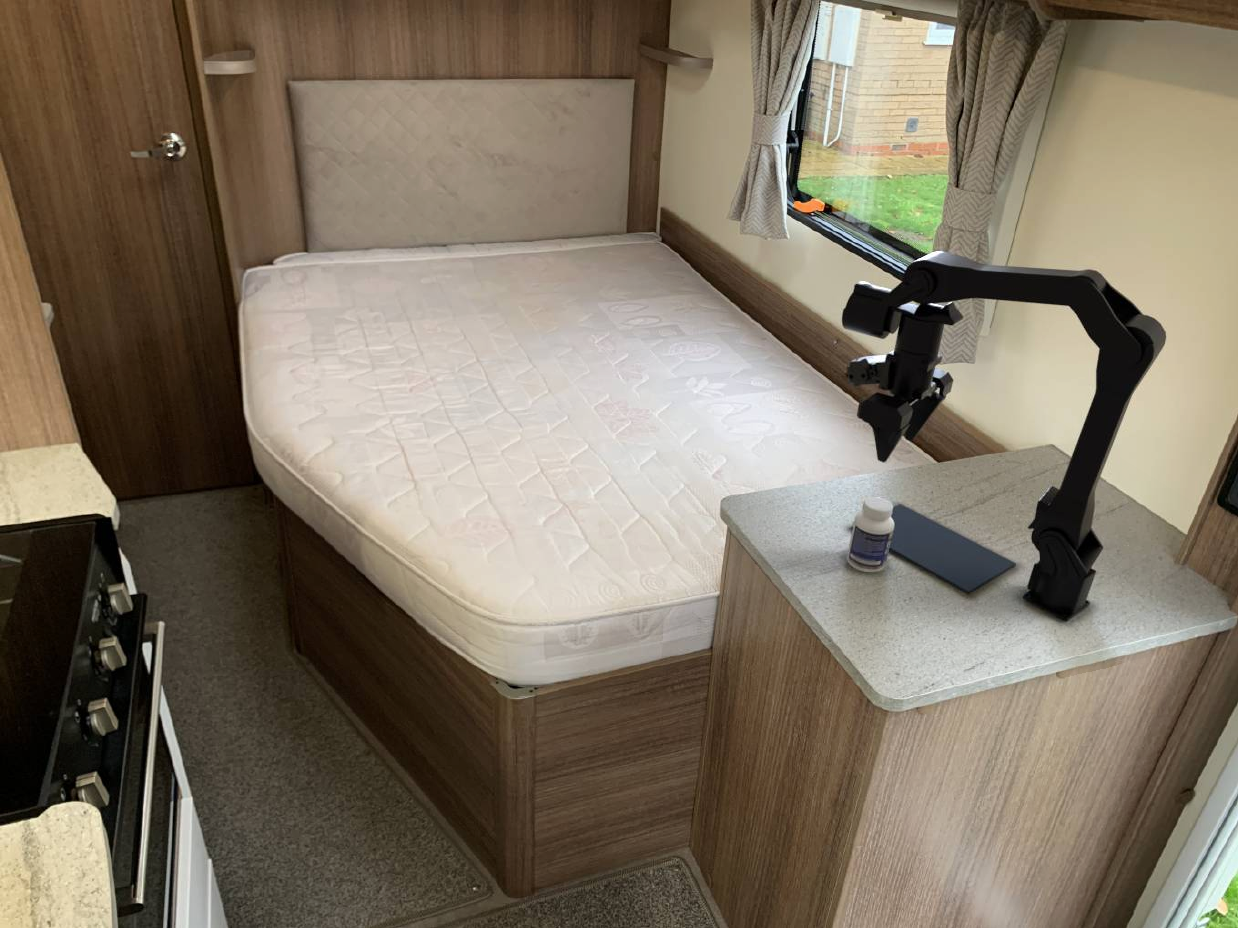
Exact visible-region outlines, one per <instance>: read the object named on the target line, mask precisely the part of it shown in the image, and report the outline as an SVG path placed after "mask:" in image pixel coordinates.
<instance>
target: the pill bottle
mask: <svg viewBox="0 0 1238 928" xmlns="http://www.w3.org/2000/svg"><path fill="white" fill-rule="evenodd" d="M893 507H894V505H893V503H892V502H891V501H890V500H888V499H886V498H883V497H879V496H868V497H866V498H865V499H864V500H863V502H862V507H861V510H860V511H858V512H857V513H856V514H855V517H854V521H853V524H852V526H853V530H852V529H851V535H850V539H849V545H848V550H847V554H846V559H847V563H848V564H849V565H850V566H851V567H852V568H853V569H855V570H857V571H860V572H864V573H879V572H880V571H882V570H884V569H885V567H886V564H887V560H888V556H889V552H890V551H889V548H890V543H891V539H892V535H893V530H894V521H893V519H892V518H891V515H892V511H893Z"/></svg>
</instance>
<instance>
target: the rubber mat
mask: <svg viewBox="0 0 1238 928" xmlns="http://www.w3.org/2000/svg"><path fill="white" fill-rule="evenodd" d="M891 518H892V519H893V521H894V530H893V535H892V539H891V543H890V548H889V552H891V553H892V554H894V555H896V556H898V557H900V558H902V559H904V560H906V561H907V562H909V563H910V564H913V565H914V566H916V567H918V568H920V569H921V570H923V571H925V572H926V573H929V574H930V575H932V576H934V577H935V578H937V579H939V580H941V581H943V582H945V583H947V584H948V585H950V586H951V587H954V588H955V589H957V590H959V591H961V592H963V593H964V594H966V595H970V594H972V593H973V592H975V591H977V590H978V589H980V588H982V587H983V586H985V585H987V584H988V583H990V582H992V581H993V580H995V579H997V578H998V577H1000V576H1001V575H1003V574H1005V573H1006V572H1008V571H1009V570H1011V569H1013V568H1014V567H1016V565H1017V563H1016V562H1014V561H1012V560H1010V559H1008V558H1006V557H1004V556H1003V555H1001V554H998V553H997V552H995V551H993V550H991V549H989V548H987V547H985V546H983V545H981V544H979V543H977V542H975V541H973V540H972V539H970V538H968V537H966V536H964V535H962V534H960V533H958V532H956V531H954V530H952V529H951V528H948V527H946V526H944V525H942V524H941V523H938V522H936V521H935V520H933V519H932V518H931V519H930V518H929V517H927V516H925V515H923V514H921V513H919V512H917V511H915V510H913V509H911V508H909V507H907V506H906V505H903V504H902V503H898V504H897V505H893V511H892V515H891ZM852 530H853V525H852V526H851V531H852Z"/></svg>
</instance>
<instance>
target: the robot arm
mask: <svg viewBox="0 0 1238 928" xmlns="http://www.w3.org/2000/svg"><path fill="white" fill-rule="evenodd" d="M970 299H980V300H981V299H982V300H993V301H994V300H995V301H1004V302H1005V301H1006V302H1015V303H1016V302H1017V303H1029V304H1038V305H1039V304H1040V305H1050V306H1051V305H1052V306H1061V307H1062V306H1063V307H1064V306H1065V307H1069V308H1070V310H1072V312H1073V313H1074V314H1075V315H1076V318H1078V320H1079V322H1080V324H1081V325H1082V327H1083V329H1084V331H1085V332H1086V334H1087V336H1088V337H1089V338H1090V339H1091V341H1092V342H1093V343H1094V344H1095V346H1096V347H1097V348H1098V349H1099V350H1098V354H1097V362H1096V368H1095V392H1094V395H1093V397H1092V401H1091V403H1090V406H1089V408H1088V411H1087V414H1086V417H1085V420H1084V422H1083V425H1082V427H1081V430H1080V433H1079V436H1078V438H1077V441H1076V443H1075V447H1074V449H1073V452H1072V455H1071V458H1070V459H1069V462H1068V465H1067V468H1066V470H1065V473H1064V475H1063V478H1062V481H1061V484H1060V487H1059V488H1058V487H1056V486H1054V485H1050V486H1049V487H1048V489H1046V491H1045V492H1044V494H1043V495H1042V496H1041V497H1040V499H1038V501H1037V504H1036V508H1035V514H1034V519H1033V520H1032V521H1031V522H1030V524H1029V525H1028V526H1027V529H1029V530H1032V531H1031V536H1030V540H1031V544H1033V546H1034V547H1035V549H1036V550H1037V552H1038V555H1039V561H1037V562H1035V563H1033V567H1032V570H1031V573H1030V576H1029V579H1028V582H1027V586H1026V588H1027V591H1025V592H1024V593H1023V594H1022V600H1025V601H1026V602H1028V603H1030V604H1032V605H1033V606H1036V607H1038V608H1040V609H1041V610H1043V611H1045V612H1046V613H1048V614H1050V615H1052V616H1054V617H1056V618H1057V619H1060V620H1062V621H1064V622H1068V621H1070V620H1072V619H1073V618H1074V617H1076V616H1077V615H1078V614H1080V613H1081V612H1083V611H1085V609H1087V608H1088V607H1090V605H1091V602H1090V600H1088V596H1089V593H1090V590H1091V588H1092V585H1093V582H1094V580H1095V576H1096V574H1097V570H1095V569H1093V568H1092V567H1093V565H1094V564H1095V562H1096V561H1097V559H1098V558H1099V555H1100V554H1101V553H1102V551H1103V550H1104V546H1103V543H1102V542H1101V541H1100V539H1099V538H1098V536H1097V534H1096V533H1095V531H1094V530H1093V528H1092V527H1093V520H1094V513H1095V508H1096V505H1095V504H1096V497H1095V496H1096V489H1097V486H1098V483H1099V482H1100V479H1101V476H1102V474H1103V471H1104V468H1105V465H1106V463H1107V461H1108V458H1109V455H1110V453H1111V450H1112V448H1113V445H1114V443H1115V441H1116V437H1117V435H1118V433H1119V430H1120V428H1121V425H1122V422H1123V419H1124V417H1125V415H1126V412H1127V410H1128V407H1129V404H1130V402H1131V401H1132V397H1133V395H1134V393H1135V391H1136V390H1137V389H1138V387H1139V386H1140V383H1141V382H1142V381H1143V379H1144V378H1145V377H1146V376H1147V373H1148V372H1149V370H1150V369H1151V367H1152V366H1153V364H1154V363H1155V361H1156V360H1157V359H1158V356H1159V355H1160V353H1161V351H1162V350H1163V349H1164V347H1165V345H1166V341H1167V332H1166V330H1165V329H1164V327H1163V325H1162V323H1160V322H1159V320H1158V319H1156V318H1154V317H1153V316H1150V315H1147V314H1144V313H1143V312H1142V311H1141V310H1140V309H1139V308H1138V306H1137V305H1136V304H1135V303H1133V301H1131V299H1129V298H1128V297H1126V296H1125V295H1124V294H1123V293H1121V292H1120V291H1119V290H1118V289H1116V288H1114V286H1113V285H1111V283H1110V282H1109V281H1108V280H1107V279H1106V278H1105V277H1104V275H1103V274H1102V273H1100V272H1099V271H1097V270H1094V269H1082V270H1073V269H1058V268H1043V267H1027V266H1026V267H1025V266H1013V265H1012V266H1011V265H999V264H998V265H997V264H996V265H995V264H986V263H982V262H978V261H976V260H974V259H971V258H969V257H967V256H963V255H959V254H955V253H952V252H951V253H950V252H946V251H933V252H931V253H929V254H927V255H925V256H923V257H921V258H918V259H917V260H914V261H913V262H911V263H910V264H909V265H908V266H907V267H906V269H905V270H904V273H903V274H902V281H901V282H900V283H899V284H897V285H896V286H895V287H894V288H892V289H889V288H886V287H881V286H878V285H874V284H872V283H870V282H867V281H862V280H861V281H859V282H857V283H855V284H854V285H853V291H852V293H851V294H850V296H849V297H848V299H847V301H846V304H845V307H844V308H843V309H842V314H841V324H842V327H843V329H845V330H847V331H851V332H854V333H859V334H861V335H866V336H868V337H873V338H877V339H880V340H885V339H887V337H888V336H889V335H893V334H895V333H896V332H897V334H896V339H895V344H894V349H893V350H892V351H889V352H887V354H881V355H880V354H879V355H868V356H861V357H859V358H854V359H853V360H851V361H850V362H849V363H848V365H847V366H846V372H845V373H844V376H845V378H846V379H848V381H849V383H851V386H852V387H860V386H863V385H864V386H865V385H878V386H877V389H879V390H882V391H885V392H887V391H890V392H889V393H890V394H891V395H888V394H885V393H882V392H879V391H876V392H874V393H873V394H871V395H869V396H868V397H866V398H865V399H863V400H862V401H860V402H859V403H858V406H857V411H856V412H857V414H856V417H857V419H859V420H862V421H863V422H864V423H866V424H868V425H869V426H870V428H871V429H872V433H873V437H874V443H875V444H874V445H875V451H876V457H877V461H879V462H881V463H886V462H887V461H888V459H889V458H890V456H891V455H892V453H893V452H894V450H895V449H896V447H897V446H898V444H899V442H900V441H901V439H902V438H903V436H904V438H905V439H904V440H906V441H910V442H912V441H914V440H915V439H916V437H917V436H918V434H919V433H920V432H921V431H922V429H923V428H924V427H925V425H926V424H927V422H928V421H929V420H930V419H931V417H932V416H933V415H934V413H935V412H936V411H937V410H938V408H939V407H940V405H942V404H943V402H944V401H945V400H946V398H947V396H948V394H949V393H950V394H951V392H952V388H953V384H954V378H953V377H952V375H951V373H950V372H949V371H946V370H942V369H939V368H936V367H937V366H938V365H939V364H941V363H942V360H943V355H942V354H939V352H940V348H941V343H942V338H943V333H944V328H945V325H947V326H954V325H956V324H958V323H959V322H960V321H962V320H963V319H964V315H963V314H962V313H961V311H960V310H959V309H957V306H956V305H955V302H956V301H962V300H970ZM913 302H914V303H916V304H912V303H913ZM942 303H947V304H945V305H940V304H942ZM918 304H919V305H918ZM892 395H893V396H892Z"/></svg>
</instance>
